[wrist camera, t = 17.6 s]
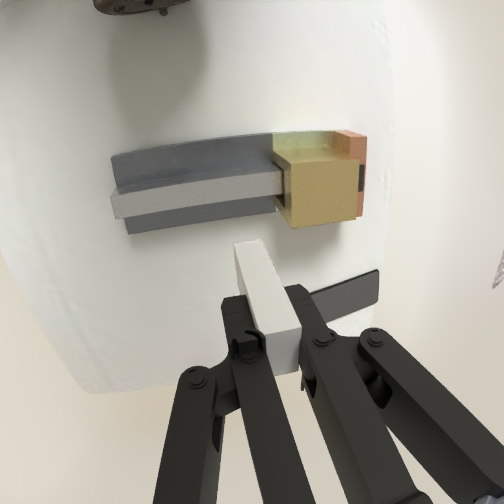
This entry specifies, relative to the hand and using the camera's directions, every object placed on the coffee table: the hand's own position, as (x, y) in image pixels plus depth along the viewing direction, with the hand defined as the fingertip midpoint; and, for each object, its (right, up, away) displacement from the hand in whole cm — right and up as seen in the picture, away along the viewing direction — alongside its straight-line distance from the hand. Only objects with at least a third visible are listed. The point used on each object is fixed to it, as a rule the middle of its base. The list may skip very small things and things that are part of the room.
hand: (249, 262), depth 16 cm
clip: (+6, +9, +17) cm, 20 cm away
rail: (-2, +9, +16) cm, 18 cm away
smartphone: (+13, -7, +29) cm, 32 cm away
